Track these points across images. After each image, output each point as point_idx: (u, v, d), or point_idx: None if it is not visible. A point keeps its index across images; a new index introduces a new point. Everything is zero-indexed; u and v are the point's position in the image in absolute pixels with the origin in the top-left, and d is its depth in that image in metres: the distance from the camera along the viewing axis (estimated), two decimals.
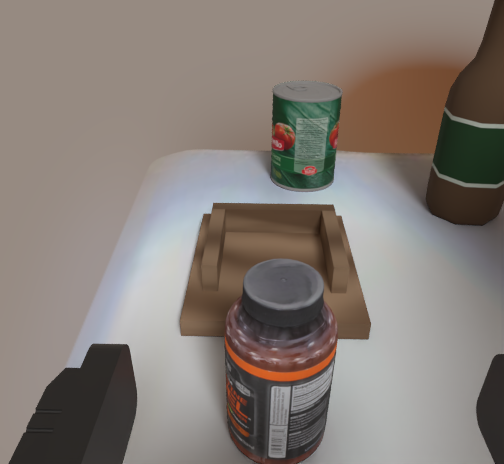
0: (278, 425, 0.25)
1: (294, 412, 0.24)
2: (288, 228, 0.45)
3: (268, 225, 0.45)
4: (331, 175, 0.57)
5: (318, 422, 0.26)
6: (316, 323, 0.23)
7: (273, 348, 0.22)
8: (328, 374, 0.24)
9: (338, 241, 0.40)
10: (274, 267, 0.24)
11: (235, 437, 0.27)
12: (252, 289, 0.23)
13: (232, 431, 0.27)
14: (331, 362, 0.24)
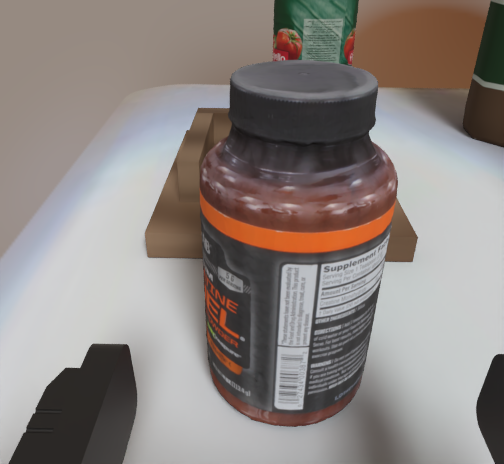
0: (294, 347, 0.14)
1: (321, 321, 0.14)
2: None
3: None
4: None
5: (358, 349, 0.15)
6: (364, 151, 0.13)
7: (286, 186, 0.12)
8: (380, 255, 0.14)
9: None
10: (286, 65, 0.14)
11: (220, 379, 0.17)
12: (248, 80, 0.12)
13: (215, 370, 0.17)
14: (387, 231, 0.14)
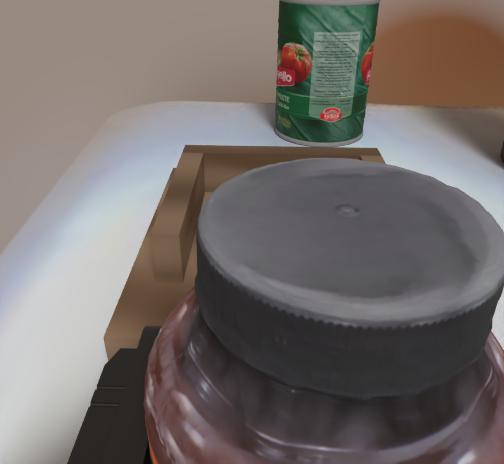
0: None
1: None
2: None
3: None
4: (361, 125, 0.40)
5: None
6: (474, 375, 0.06)
7: None
8: None
9: None
10: (309, 177, 0.07)
11: None
12: (231, 241, 0.06)
13: None
14: None
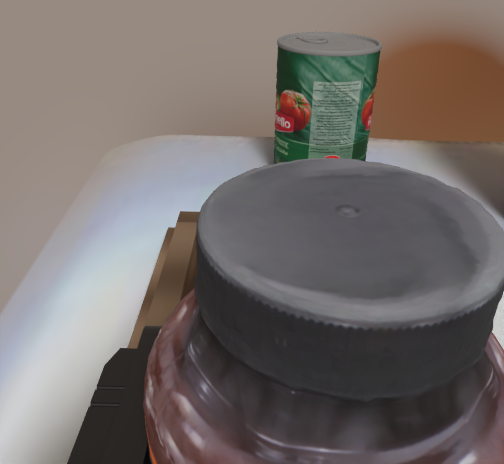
0: None
1: None
2: None
3: None
4: None
5: None
6: (475, 377, 0.06)
7: None
8: None
9: None
10: (309, 177, 0.07)
11: None
12: (230, 242, 0.06)
13: None
14: None
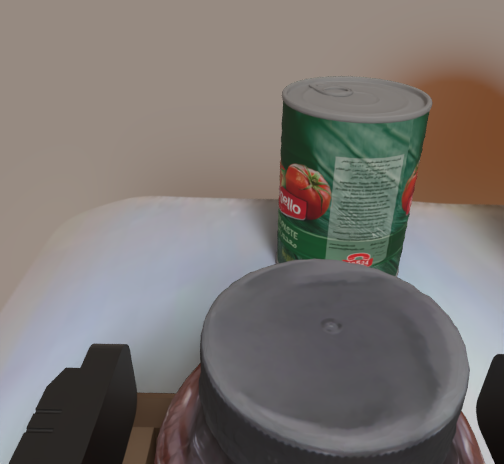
0: None
1: None
2: None
3: None
4: (397, 264, 0.29)
5: None
6: None
7: None
8: None
9: None
10: (299, 285, 0.08)
11: None
12: (230, 363, 0.07)
13: None
14: None
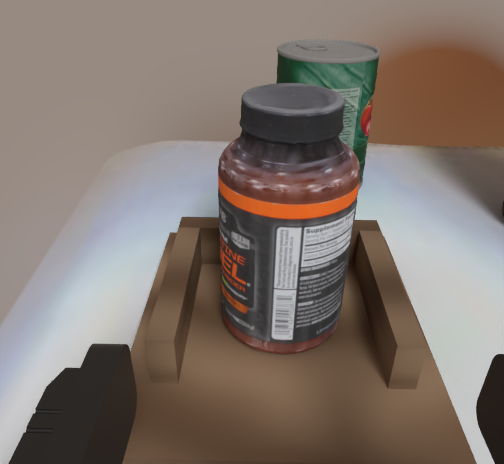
0: (285, 290, 0.20)
1: (305, 270, 0.19)
2: None
3: None
4: (360, 175, 0.40)
5: (333, 295, 0.21)
6: (335, 149, 0.18)
7: (280, 173, 0.17)
8: (348, 224, 0.19)
9: (396, 288, 0.22)
10: (281, 87, 0.19)
11: (231, 320, 0.22)
12: (254, 99, 0.18)
13: (227, 313, 0.22)
14: (352, 206, 0.19)
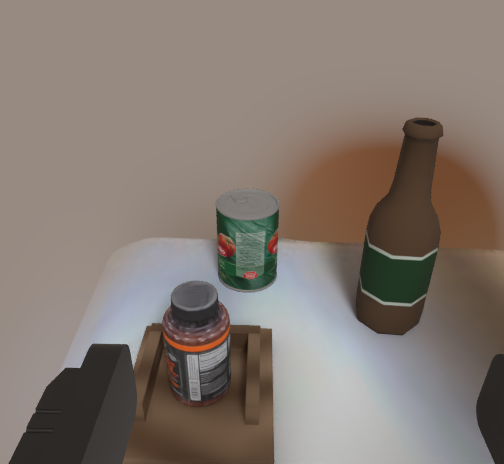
0: (194, 379, 0.42)
1: (202, 371, 0.41)
2: None
3: None
4: (272, 275, 0.62)
5: (220, 379, 0.43)
6: (212, 319, 0.40)
7: (186, 332, 0.40)
8: (222, 349, 0.41)
9: (255, 373, 0.44)
10: (190, 286, 0.41)
11: (172, 389, 0.44)
12: (175, 299, 0.40)
13: (170, 385, 0.44)
14: (223, 341, 0.41)
